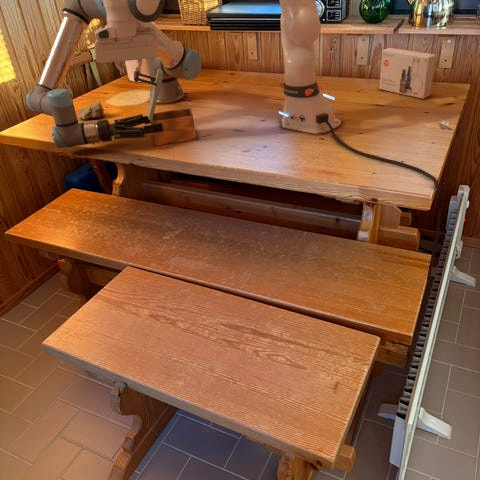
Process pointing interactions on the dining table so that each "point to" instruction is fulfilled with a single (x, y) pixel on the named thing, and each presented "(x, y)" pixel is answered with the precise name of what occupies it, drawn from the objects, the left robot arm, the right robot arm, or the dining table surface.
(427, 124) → the dining table surface
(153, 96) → the lid
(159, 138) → the chest
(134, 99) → the dining table surface
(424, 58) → the skincare box
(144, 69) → the container
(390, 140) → the dining table surface
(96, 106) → the rock
